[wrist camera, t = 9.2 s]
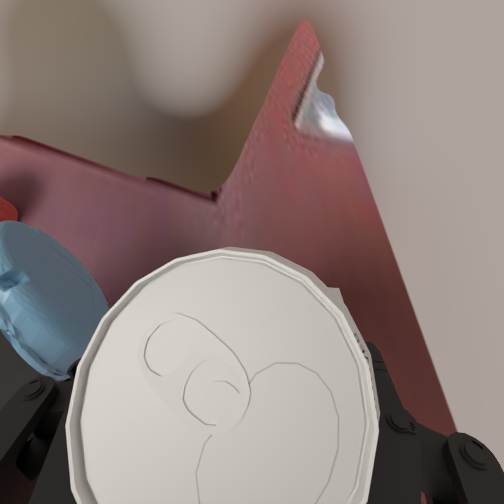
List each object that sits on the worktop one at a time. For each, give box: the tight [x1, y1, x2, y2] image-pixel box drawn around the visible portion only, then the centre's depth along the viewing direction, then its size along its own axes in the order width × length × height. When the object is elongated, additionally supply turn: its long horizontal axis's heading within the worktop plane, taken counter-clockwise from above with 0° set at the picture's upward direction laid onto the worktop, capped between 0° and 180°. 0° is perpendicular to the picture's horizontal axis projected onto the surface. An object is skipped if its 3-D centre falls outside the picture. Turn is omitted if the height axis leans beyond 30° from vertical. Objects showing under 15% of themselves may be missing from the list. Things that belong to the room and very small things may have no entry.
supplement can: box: [65, 247, 380, 504], centre depth 12 cm, size 8×8×15 cm
